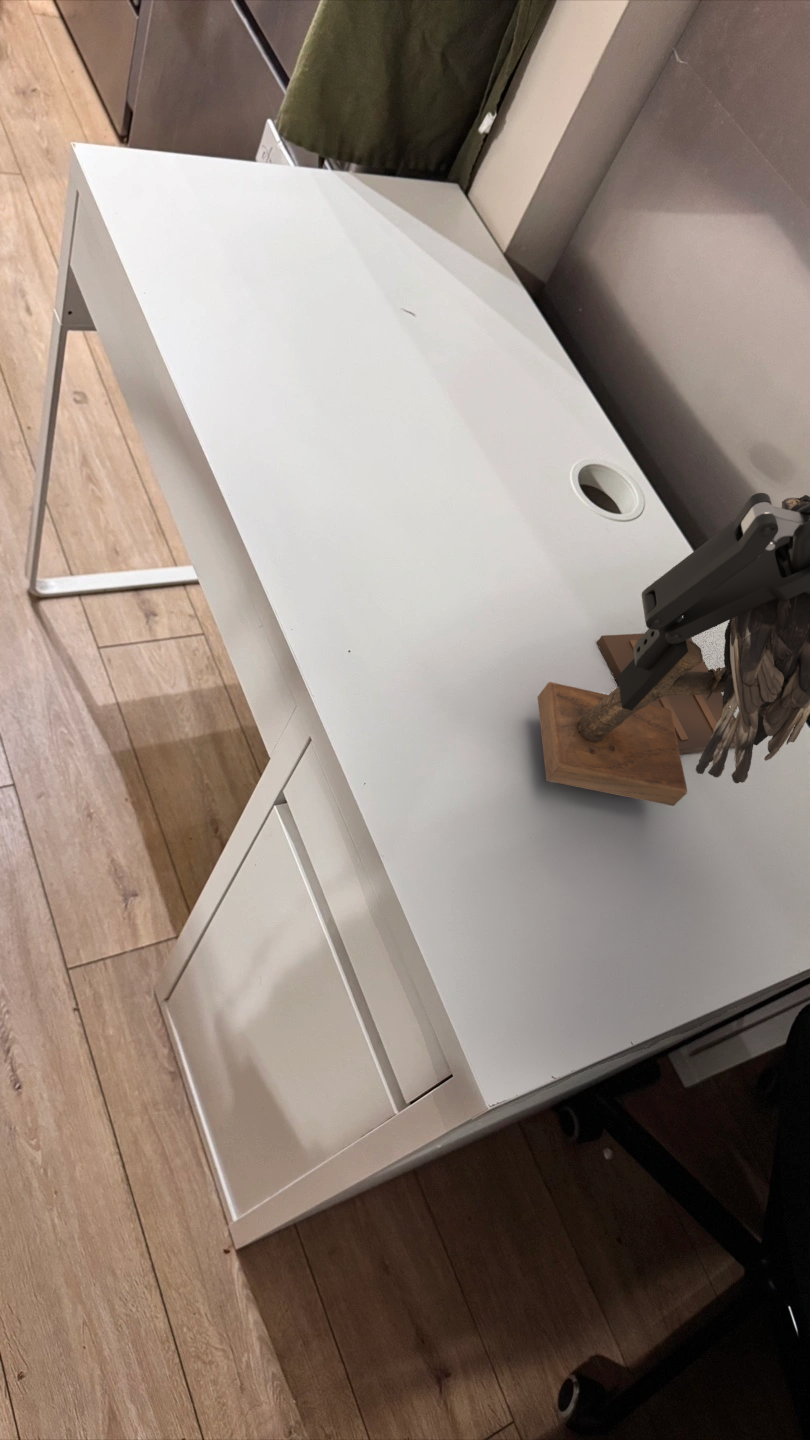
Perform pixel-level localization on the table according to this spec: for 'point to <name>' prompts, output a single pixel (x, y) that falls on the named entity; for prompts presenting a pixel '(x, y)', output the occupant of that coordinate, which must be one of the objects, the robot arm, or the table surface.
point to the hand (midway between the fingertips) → (688, 711)
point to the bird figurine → (642, 743)
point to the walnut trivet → (672, 697)
